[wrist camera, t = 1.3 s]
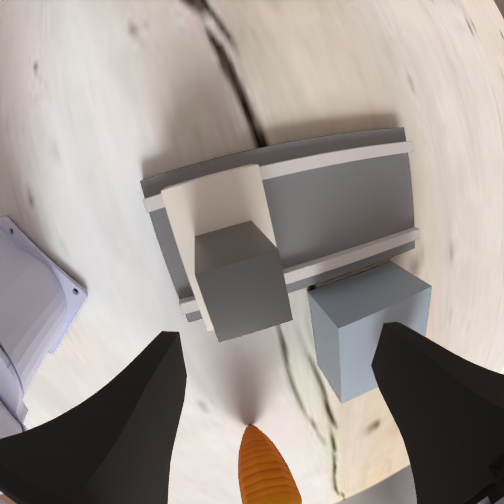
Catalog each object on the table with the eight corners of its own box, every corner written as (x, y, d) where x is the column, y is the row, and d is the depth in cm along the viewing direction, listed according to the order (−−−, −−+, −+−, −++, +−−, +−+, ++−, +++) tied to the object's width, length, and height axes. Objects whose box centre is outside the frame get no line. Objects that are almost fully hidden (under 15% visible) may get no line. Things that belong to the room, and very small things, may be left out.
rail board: (188, 315, 20) (188, 327, 18) (142, 179, 16) (137, 181, 15) (407, 244, 22) (419, 250, 20) (395, 127, 18) (409, 127, 17)
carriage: (206, 314, 18) (215, 392, 11) (164, 187, 15) (141, 207, 8) (279, 292, 18) (321, 358, 12) (250, 164, 15) (290, 166, 9)
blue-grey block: (317, 364, 24) (341, 403, 19) (307, 291, 21) (338, 328, 16) (389, 333, 25) (419, 363, 20) (390, 261, 22) (431, 286, 17)
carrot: (233, 441, 26) (262, 557, 12) (220, 418, 24) (248, 554, 10) (276, 430, 26) (319, 543, 12) (268, 406, 25) (317, 538, 11)
